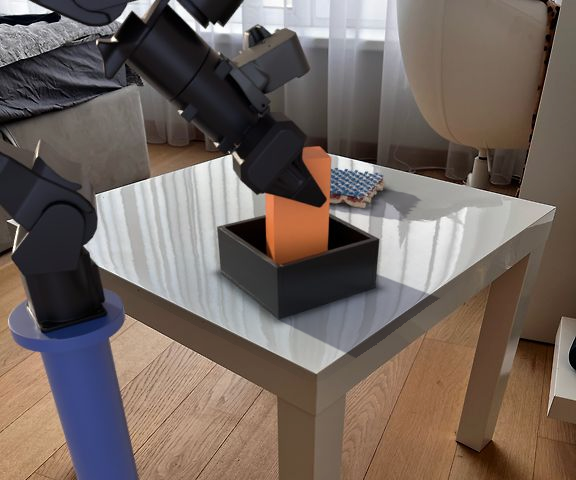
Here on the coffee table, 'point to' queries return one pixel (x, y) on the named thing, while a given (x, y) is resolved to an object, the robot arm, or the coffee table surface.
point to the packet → (300, 216)
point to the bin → (298, 267)
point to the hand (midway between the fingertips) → (309, 189)
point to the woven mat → (354, 187)
